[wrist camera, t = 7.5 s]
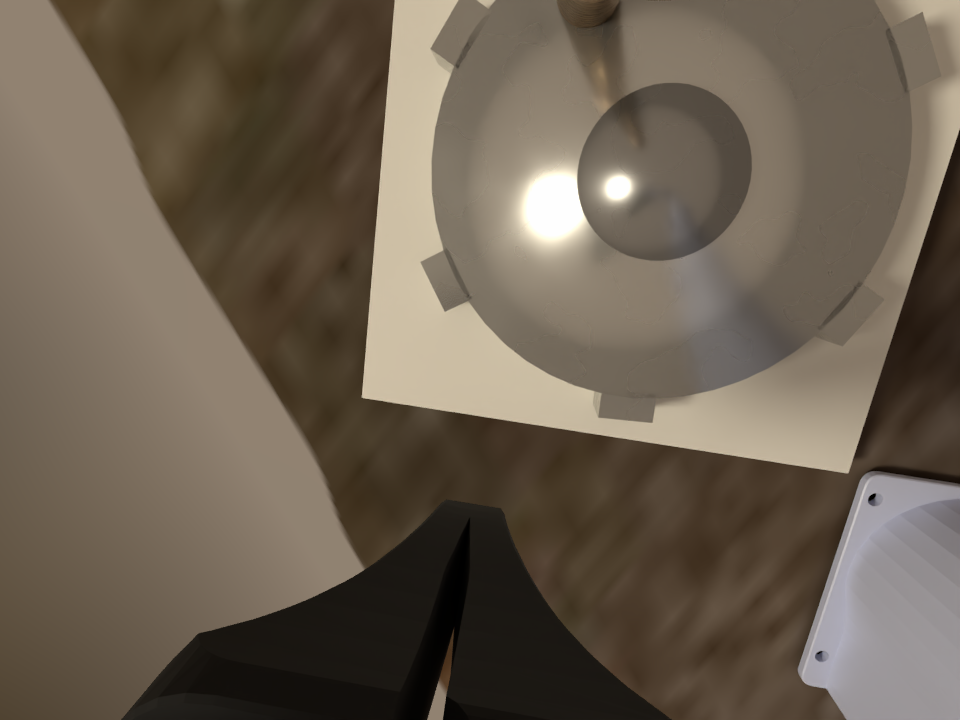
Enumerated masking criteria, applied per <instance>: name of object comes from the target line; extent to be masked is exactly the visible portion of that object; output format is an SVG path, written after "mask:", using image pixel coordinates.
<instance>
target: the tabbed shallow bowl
mask: <svg viewBox="0 0 960 720" xmlns="http://www.w3.org/2000/svg"><path fill="white" fill-rule="evenodd" d="M430 49H431V51H432V53H433V55H434V57H435V59H436V61H437V63H438V65H440V66H441V67H442V68H444V69H445V70H447V71H448V72H449V73H451V76H450V78H449V81H448V84H447V87H446V89H445V92H444V95H443V97H442V101H441V106H440V110H439V114H438V118H437V123H436V127H435V133H434V142H433V151H432V160H431V166H432V197H433V204H434V211H435V219H436V224H437V228H438V231H439V235H440V239H441V243H442V246H443V251H441V252H439V253H437V254H435V255H433V256H431V257H429V258H427V259H425V260H423V261H421V262H420V263H421V265H422V267H423V269H424V271H425V273H426V275H427V277H428V279H429V281H430V283H431V285H432V287H433V289H434V291H435V293H436V295H437V297H438V299H439V301H440V303H441V305H442V307H443V309H444V312H446V311H448V310H450V309H452V308H454V307H456V306H458V305H460V304H463V303H465V302H467V301H468V302H469V303H470V304H471V306H472V307H473V308H474V310H475V311H476V312H477V314H478V315H479V316H480V318H481V319H482V320H483V322H484V323H485V324H486V325H487V326H488V327H489V328H490V329H491V330H492V331H493V332H494V333H495V334H496V336H497V337H498V338H499V339H500V340H501V341H502V342H503V343H504V344H506V345H507V346H508V347H509V348H511V349H512V350H513V351H514V352H516V353H517V354H518V355H519V356H521V357H522V358H523V359H525V360H526V361H527V362H529V363H531V364H532V365H534V366H536V367H537V368H539V369H541V370H542V371H544V372H546V373H547V374H549V375H551V376H554V377H556V378H558V379H561V380H563V381H565V382H567V383H570V384H572V385H574V386H578V387H581V388H585V389H588V390H591V391H595V392H594V399H593V406H594V408H595V411H596V413H597V416H598V418H606V419H616V420H626V421H637V422H647V423H653V417H654V410H655V404H656V399H659V398H670V397H681V396H688V395H693V394H698V393H703V392H707V391H712V390H716V389H719V388H722V387H725V386H728V385H731V384H734V383H737V382H739V381H742V380H745V379H747V378H749V377H751V376H753V375H755V374H757V373H759V372H761V371H763V370H766V369H768V368H770V367H771V366H773V365H775V364H776V363H778V362H779V361H781V360H783V359H784V358H786V357H787V356H789V355H791V354H792V353H794V352H795V351H797V350H798V349H799V348H801V347H802V346H803V345H804V344H806V343H807V342H808V341H809V340H811V339H812V338H813V337H814V336H816V337H817V338H819V339H822V340H825V341H828V342H831V343H834V344H836V345H839V346H842V347H843V346H844V344H845V343H846V342H847V341H848V340H849V339H850V338H851V337H852V336H853V334H854V333H855V332H856V331H857V330H858V329H859V328H860V327H861V326H862V324H863V323H864V322H865V321H866V320H867V319H868V318H869V317H870V316H871V315H872V313H873V312H874V311H875V310H876V309H877V308H878V307H879V306H880V305H881V303H882V302H883V301H884V300H885V299H884V298H882V297H881V296H879V295H878V294H877V293H875V292H874V291H873V290H871V289H870V288H869V287H867V286H866V285H864V284H863V283H864V281H865V280H866V278H867V276H868V275H869V273H870V271H871V270H872V268H873V267H874V265H875V263H876V262H877V260H878V258H879V257H880V255H881V253H882V251H883V249H884V246H885V244H886V242H887V240H888V238H889V235H890V233H891V231H892V229H893V227H894V224H895V221H896V218H897V215H898V212H899V209H900V206H901V202H902V199H903V196H904V193H905V188H906V182H907V177H908V171H909V166H910V160H911V143H912V115H911V103H910V92H909V91H911V90H913V89H916V88H918V87H920V86H922V85H924V84H926V83H928V82H930V81H932V80H934V79H937V78H939V77H941V73H940V69H939V66H938V62H937V59H936V56H935V52H934V49H933V45H932V42H931V39H930V35H929V32H928V28H927V25H926V22H925V18H924V15H923V12H921V13H919V14H917V15H915V16H913V17H911V18H909V19H907V20H905V21H903V22H901V23H899V24H897V25H895V26H893V27H891V28H890V27H889V25H888V23H887V22H886V20H885V18H884V16H883V15H882V13H881V11H880V9H879V8H878V6H877V4H876V2H875V1H874V0H495V1H494V3H493V4H492V5H491V6H490V7H489V8H487V7H485V6H484V5H483V4H481V3H480V2H478V1H477V0H458V2H457V3H456V5H455V7H454V9H453V10H452V12H451V14H450V16H449V17H448V19H447V21H446V22H445V24H444V26H443V28H442V29H441V31H440V33H439V35H438V36H437V38H436V40H435V41H434V43H433V45H432V47H431V48H430Z"/></svg>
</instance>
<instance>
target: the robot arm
mask: <svg viewBox="0 0 960 720" xmlns="http://www.w3.org/2000/svg"><path fill="white" fill-rule="evenodd" d="M874 493H876V497H875V498H874V499H873V500H871V501H868V498H869V496H870V495H872V494H874ZM453 629H454V638H453V651H452V665H451V676H450V681H449V686H448V691H447V695H446V703H445V709H444V716H443V720H671V719H670V718H669V717H667V716H666V715H665V714H663V713H662V712H661V711H659V710H658V709H657V708H655V707H654V706H652V705H651V704H650V703H648V702H647V701H646V700H644V699H643V698H642V697H640V696H639V695H638V694H636V693H635V692H634V691H632V690H631V689H630V688H628V687H627V686H626V685H625V684H623V683H622V682H621V681H620V680H619V679H618V678H616V677H615V676H614V675H613V674H612V673H611V672H610V671H609V670H607V669H606V668H605V667H604V666H603V665H602V664H601V663H599V662H598V661H597V660H596V659H595V658H594V657H593V656H592V655H591V654H590V653H589V652H588V651H587V650H586V649H585V648H584V647H583V646H582V645H581V644H580V642H579V641H578V640H577V639H576V638H575V637H574V636H573V635H572V634H571V633H570V632H569V631H568V629H567V628H566V627H565V626H564V625H563V624H562V622H561V621H560V620H559V619H558V617H557V616H556V615H555V613H554V612H553V611H552V609H551V608H550V607H549V605H548V604H547V602H546V601H545V599H544V598H543V596H542V595H541V593H540V592H539V590H538V588H537V587H536V585H535V583H534V582H533V580H532V578H531V577H530V575H529V573H528V571H527V569H526V567H525V565H524V563H523V561H522V559H521V557H520V555H519V553H518V551H517V549H516V547H515V544H514V542H513V540H512V537H511V535H510V532H509V529H508V526H507V523H506V519H505V514H504V513H503V511H502V510H501V509H500V508H495V507H489V506H483V505H477V504H470V503H464V502H458V501H452V500H445V501H444V502H442V503H441V504H440V505H439V506H438V507H437V509H436V510H435V511H434V512H433V513H432V514H431V515H430V516H429V517H428V518H427V519H426V520H425V521H424V522H423V523H422V524H421V525H420V526H419V527H418V528H417V529H416V530H415V531H414V532H412V533H411V534H410V535H409V536H408V537H407V538H406V539H405V540H404V541H402V542H401V543H400V544H399V545H398V546H396V547H395V548H394V549H392V550H391V551H390V552H389V553H387V554H386V555H385V556H383V557H382V558H381V559H380V560H378V561H377V562H375V563H374V564H373V565H371V566H370V567H368V568H367V569H365V570H364V571H362V572H361V573H359V574H357V575H356V576H354V577H353V578H351V579H349V580H347V581H345V582H343V583H341V584H339V585H337V586H335V587H333V588H331V589H329V590H327V591H325V592H323V593H321V594H319V595H317V596H315V597H313V598H310V599H308V600H306V601H303V602H301V603H298V604H296V605H293V606H291V607H288V608H285V609H282V610H280V611H277V612H274V613H271V614H268V615H265V616H262V617H259V618H256V619H253V620H249V621H245V622H242V623H238V624H234V625H230V626H227V627H223V628H219V629H216V630H212V631H207V632H203V633H199V634H197V635H196V636H195V638H194V639H193V640H192V641H191V642H190V643H189V644H188V645H187V646H186V647H185V648H184V649H183V650H182V651H181V652H180V653H179V654H178V655H177V656H176V657H175V658H174V659H173V660H172V661H171V662H170V663H169V664H168V665H167V666H166V668H165V669H164V670H163V671H162V672H161V673H160V674H159V675H158V677H157V678H156V679H155V680H154V681H153V683H152V684H151V685H150V686H149V687H148V689H147V690H146V691H145V692H144V693H143V695H142V696H141V697H140V698H139V699H138V700H137V702H136V703H135V704H134V705H133V706H132V708H131V709H130V710H129V711H128V712H127V714H126V715H125V716H124V717H123V718H122V720H427V718H428V715H429V711H430V708H431V705H432V701H433V698H434V694H435V691H436V687H437V684H438V681H439V677H440V674H441V670H442V667H443V664H444V660H445V657H446V653H447V650H448V646H449V643H450V639H451V636H452V632H453ZM819 651H823V652H822V653H820V654H816V653H817V652H819ZM798 673H799V675H800V677H801V679H802V680H803V682H804V683H806V684H807V685H810V686H815V687H820V688H826V689H827V690H828V692H829V693H830V695H831V696H832V698H833V699H834V701H835V702H836V704H837V706H838V707H839V709H840V710H841V712H842V713H843V715H844V716H845V718H846V719H847V720H960V484H957V483H951V482H945V481H938V480H932V479H925V478H919V477H912V476H906V475H899V474H893V473H886V472H880V471H871V472H869V473H866V474H865V475H864V476H863V477H862V478H861V480H860V483H859V486H858V489H857V492H856V495H855V498H854V501H853V504H852V507H851V510H850V513H849V516H848V519H847V522H846V525H845V528H844V531H843V534H842V537H841V540H840V543H839V546H838V549H837V552H836V555H835V558H834V561H833V564H832V567H831V570H830V573H829V576H828V579H827V582H826V585H825V588H824V591H823V594H822V598H821V601H820V604H819V607H818V610H817V613H816V616H815V619H814V622H813V625H812V628H811V631H810V634H809V637H808V640H807V643H806V646H805V649H804V652H803V655H802V658H801V661H800V664H799V667H798Z"/></svg>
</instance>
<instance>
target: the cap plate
mask: <svg viewBox="0 0 960 720" xmlns="http://www.w3.org/2000/svg"><path fill="white" fill-rule="evenodd" d="M477 1H478V2H480V3H481V4H483V5H484V6H485V7H487V8H489V7H490V6H491V5H492V4H493V3H494V1H495V0H477ZM874 1H875V2H876V4H877V6H878V8H879V9H880V11H881V13H882V15H883V16H884V18H885V20H886V22H887V23H888V25H889V27H890V28H891V27H893V26H895V25H897V24H899V23H901V22H903V21H905V20H907V19H909V18H911V17H913V16H915V15H917V14H919V13H921V12H923V15H924V18H925V22H926V25H927V28H928V32H929V35H930V39H931V42H932V45H933V49H934V52H935V56H936V59H937V62H938V66H939V69H940V73H941V77H939V78H937V79H934V80H932V81H930V82H928V83H926V84H924V85H922V86H920V87H918V88H916V89H913V90H911V91H909V92H910V103H911V115H912V143H911V160H910V166H909V171H908V177H907V182H906V188H905V193H904V196H903V199H902V202H901V206H900V209H899V212H898V215H897V218H896V221H895V224H894V227H893V229H892V231H891V233H890V235H889V238H888V240H887V242H886V244H885V246H884V249H883V251H882V253H881V255H880V257H879V258H878V260H877V262H876V263H875V265H874V267H873V268H872V270H871V271H870V273H869V275H868V276H867V278H866V280H865V281H864V283H863V284H864V285H866V286H867V287H869V288H870V289H871V290H873V291H874V292H875V293H877V294H878V295H879V296H881V297H882V298H884V299H885V300H884V301H883V302H882V303H881V305H880V306H879V307H878V308H877V309H876V310H875V311H874V312H873V313H872V315H871V316H870V317H869V318H868V319H867V320H866V321H865V322H864V323H863V324H862V326H861V327H860V328H859V329H858V330H857V331H856V332H855V333H854V334H853V336H852V337H851V338H850V339H849V340H848V341H847V342H846V343H845V344H844V346H843V347H842V346H839V345H836V344H834V343H831V342H828V341H825V340H822V339H819V338H817V337H816V336H814V337H813V338H812V339H811V340H809V341H808V342H807V343H806V344H804V345H803V346H802V347H801V348H799V349H798V350H797V351H795V352H794V353H792V354H791V355H789V356H787V357H786V358H784V359H783V360H781V361H779V362H778V363H776V364H775V365H773V366H771V367H770V368H768V369H766V370H763V371H761V372H759V373H757V374H755V375H753V376H751V377H749V378H747V379H745V380H742V381H739V382H737V383H734V384H731V385H728V386H725V387H722V388H719V389H716V390H712V391H707V392H703V393H698V394H693V395H688V396H681V397H670V398H659V399H656V404H655V410H654V417H653V423H647V422H637V421H626V420H616V419H606V418H598V416H597V413H596V411H595V408H594V406H593V399H594V392H595V391H591V390H588V389H585V388H581V387H578V386H574V385H572V384H570V383H567V382H565V381H563V380H561V379H558V378H556V377H554V376H551V375H549V374H547V373H546V372H544V371H542V370H541V369H539V368H537V367H536V366H534V365H532V364H531V363H529V362H527V361H526V360H525V359H523V358H522V357H521V356H519V355H518V354H517V353H516V352H514V351H513V350H512V349H511V348H509V347H508V346H507V345H506V344H504V343H503V342H502V341H501V340H500V339H499V338H498V337H497V336H496V334H495V333H494V332H493V331H492V330H491V329H490V328H489V327H488V326H487V325H486V324H485V323H484V322H483V320H482V319H481V318H480V316H479V315H478V314H477V312H476V311H475V310H474V308H473V307H472V306H471V304H470V303H469V302H468V301H467V302H465V303H463V304H460V305H458V306H456V307H454V308H452V309H450V310H448V311H446V312H444V309H443V307H442V305H441V303H440V301H439V299H438V297H437V295H436V293H435V291H434V289H433V287H432V285H431V283H430V281H429V279H428V277H427V275H426V273H425V271H424V269H423V267H422V265H421V263H420V262H421V261H423V260H425V259H427V258H429V257H431V256H433V255H435V254H437V253H439V252H441V251H443V246H442V243H441V239H440V235H439V231H438V228H437V224H436V219H435V211H434V204H433V197H432V166H431V160H432V151H433V142H434V133H435V127H436V123H437V118H438V114H439V110H440V106H441V101H442V97H443V95H444V92H445V89H446V87H447V84H448V81H449V78H450V76H451V73H449V72H448V71H447V70H445V69H444V68H442V67H441V66H440V65H438V63H437V61H436V59H435V57H434V55H433V53H432V51H431V49H430V48H431V47H432V45H433V43H434V41H435V40H436V38H437V36H438V35H439V33H440V31H441V29H442V28H443V26H444V24H445V22H446V21H447V19H448V17H449V16H450V14H451V12H452V10H453V9H454V7H455V5H456V3H457V2H458V0H395V6H394V18H393V30H392V42H391V54H390V66H389V78H388V90H387V102H386V114H385V126H384V138H383V150H382V163H381V175H380V187H379V199H378V211H377V223H376V235H375V247H374V259H373V271H372V283H371V295H370V307H369V319H368V331H367V343H366V355H365V367H364V379H363V391H362V398H367V399H373V400H380V401H386V402H392V403H399V404H405V405H412V406H418V407H425V408H431V409H437V410H444V411H450V412H457V413H463V414H470V415H476V416H482V417H489V418H495V419H502V420H508V421H515V422H521V423H527V424H534V425H540V426H547V427H553V428H560V429H566V430H572V431H579V432H585V433H592V434H598V435H604V436H611V437H617V438H624V439H630V440H637V441H643V442H649V443H656V444H662V445H669V446H675V447H682V448H688V449H694V450H701V451H707V452H714V453H720V454H727V455H733V456H739V457H746V458H752V459H759V460H765V461H772V462H778V463H784V464H791V465H797V466H804V467H810V468H816V469H823V470H829V471H836V472H842V473H849V470H850V466H851V463H852V460H853V457H854V454H855V451H856V448H857V445H858V442H859V439H860V436H861V432H862V429H863V426H864V423H865V420H866V417H867V414H868V411H869V408H870V405H871V402H872V398H873V395H874V392H875V389H876V386H877V383H878V380H879V377H880V374H881V371H882V368H883V364H884V361H885V358H886V355H887V352H888V349H889V346H890V343H891V340H892V337H893V334H894V330H895V327H896V324H897V321H898V318H899V315H900V312H901V309H902V306H903V303H904V300H905V296H906V293H907V290H908V287H909V284H910V281H911V278H912V275H913V272H914V269H915V266H916V262H917V259H918V256H919V253H920V250H921V247H922V244H923V241H924V238H925V235H926V232H927V228H928V225H929V222H930V219H931V216H932V213H933V210H934V207H935V204H936V201H937V198H938V194H939V191H940V188H941V185H942V182H943V179H944V176H945V173H946V170H947V167H948V164H949V160H950V157H951V154H952V151H953V148H954V145H955V142H956V139H957V136H958V133H959V130H960V0H874Z"/></svg>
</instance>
